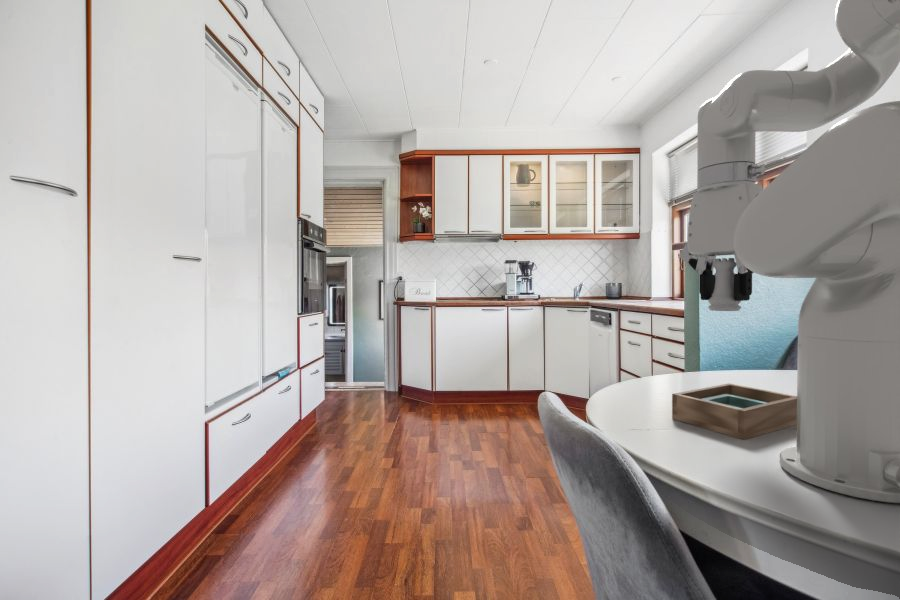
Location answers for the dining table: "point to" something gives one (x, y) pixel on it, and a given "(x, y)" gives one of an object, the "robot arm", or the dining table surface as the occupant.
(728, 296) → the rook chess piece
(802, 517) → the dining table surface
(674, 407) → the walled box
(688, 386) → the dining table surface
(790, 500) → the dining table surface
